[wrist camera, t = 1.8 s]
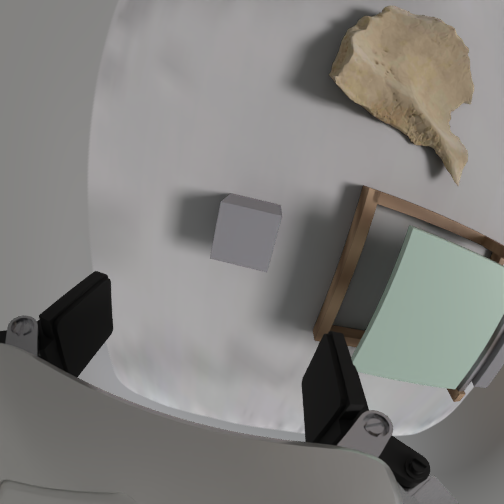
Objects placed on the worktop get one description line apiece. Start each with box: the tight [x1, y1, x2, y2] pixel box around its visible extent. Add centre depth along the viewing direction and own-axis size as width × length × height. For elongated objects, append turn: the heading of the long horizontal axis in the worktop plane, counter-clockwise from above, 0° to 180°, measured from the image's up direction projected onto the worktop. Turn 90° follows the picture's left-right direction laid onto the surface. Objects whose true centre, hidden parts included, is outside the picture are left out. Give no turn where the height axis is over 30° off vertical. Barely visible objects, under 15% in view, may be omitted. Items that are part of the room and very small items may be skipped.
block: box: [210, 193, 282, 272], centre depth 25 cm, size 5×5×5 cm
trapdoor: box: [351, 225, 504, 389], centre depth 19 cm, size 14×19×2 cm
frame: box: [313, 186, 504, 402], centre depth 22 cm, size 17×23×11 cm
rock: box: [329, 6, 474, 186], centre depth 18 cm, size 18×15×4 cm
